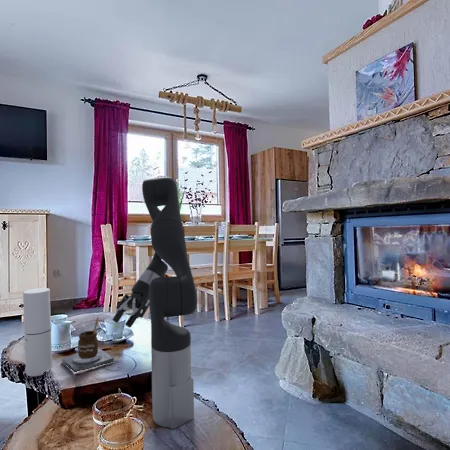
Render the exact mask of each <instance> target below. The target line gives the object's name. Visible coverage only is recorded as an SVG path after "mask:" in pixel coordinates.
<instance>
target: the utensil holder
mask: <svg viewBox="0 0 450 450" xmlns="http://www.w3.org/2000/svg"><path fill="white" fill-rule="evenodd" d="M98 321H99V317H97V318H96V320H95V324H94V329H93V330H86V329H85V327H87V326H86V324H84V325H85V326H82V327H83V331H82V327H81V325H80V326H78V327H77V328H78V329H79V327H80V333H79V335H78V339H79V340H78V343H77V353H78V355H79V357H80V358H91V357H94V356H95V355H97V353H98V347H99V343H98V342H99V341H98V337H97V332H96V328H97V326H98ZM81 323H83V320H82V321H78V324H81Z"/></svg>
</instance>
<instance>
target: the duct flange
mask: <svg viewBox="0 0 450 450" xmlns="http://www.w3.org/2000/svg"><path fill="white" fill-rule="evenodd" d="M61 359H62V360H61V363H62V362H63V363H64V364H65V365H67V366H68V367H69V368H70V369H72V370H73V371H74V372H77V371H80V370H85V369H89V368H92V367H96V366H99V365H103V364H107V363H111V362H114V360H115V359H114V357H112V355H110V354H109V353H107V352H106V351H104V350H103V349H102V348H101V347H99V346H98V353H97V355H95V356H94V357H91V358H80V357H79V355H78V352H77V353H74V354H70V355H67V356H64V357H62V358H61ZM63 363H62V364H63ZM64 364H63V365H64ZM65 365H64V366H65Z"/></svg>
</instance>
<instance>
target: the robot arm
mask: <svg viewBox="0 0 450 450" xmlns="http://www.w3.org/2000/svg"><path fill="white" fill-rule="evenodd" d="M141 188H142V189H141V192H142V196H143V200H144V204H145V206H146V210H147V211H148V214H149V216H150V218H151V220H152V224H151V226H150V240H151V241H150V242H151V246H152V249H153V250H154V251H153V252H154V254H153V255H152V259H151V261H150V263H149V264H148V266H147V267H146V269H145V270H144V271H143V272H142V274H141V275H140V277H138V279H137V280H136V282H135V284H134V285H133V287H132V288H131V294H130V295H129V294H125V295H124V296H122V298H121V300H120V301H119V303H117V305H116V306H115V308H116V309H117V312H115V315H114V316H113V318H112V321H113V322H114V323H116V324H117V323H119V321H120V320H121V319H122V317H123V315H124V314H125V313H126V312H130V311H131V310H132V312H131V315H130V316H129V318H128V319H127V320H126V322H125V323H124V324H125V327H128V328H131V327H132V326H133V325H134V323H135V322H136V320H137V319H139V318H141V319H142V318H143V317H144V316H145V314H146V312H147V311H148V308H149V313H150V314H149V315H150V328H151V329H150V330H151V331H150V338H151V340H150V344H151V346H150V347H151V351H150V352H151V395H152V396H151V397H152V398H151V401H152V404H151V405H152V420H153V422H154V423H155V424H156V425H158V426H160V427H163V428H169V429H171V430H175V429H177V428H178V427H180V426H182V425H184V424H185V423H188V422H190V421H191V420H193V419H194V418H195V399H194V398H195V395H194V391H195V390H194V386H195V385H194V379H193V377H192V347H191V346H192V344H191V343H192V341H191V340H192V339H191V337H192V336H191V332H190V331H189V330H188V329H187V328H185V327H183V326H180V325H176V324H173V323H171V322H168V321H167V320H166V319H165V318H171V317H172V318H174V317H180V316H188V315H193V314H194V313H195V311H196V309H197V305H198V298H197V290H196V289H197V288H196V285H195V280H194V277H193V273H192V270H191V265H190V261H189V258H188V257H189V256H188V251H187V244H186V237H185V232H184V227H183V222H182V217H181V213H180V203H179V193H178V187H177V183H176V181H175V179H174V178H173V177H171V176H162V177H155V178H149V179H147V178H146V179H144V180H143V181H142V185H141ZM159 207H163V208H161V209H160V208H159ZM169 267H170V269H172V271H173V272H174V274H175V275H174V276H165V275H166V273H167V272H168V269H169Z"/></svg>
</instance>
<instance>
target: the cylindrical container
mask: <svg viewBox="0 0 450 450" xmlns="http://www.w3.org/2000/svg"><path fill="white" fill-rule="evenodd" d="M50 290H51V289H50V288H47V287H40V288H39V287H38V288H37V287H36V288H31V289H30V288H29V289H26V290H24V291H22V294H23V295H22V297H23V298H22V299H23V301H22V302H23V324H24V325H23V327H24V330H23V331H24V357H25V358H24V359H25V360H24V362H25V375H26V376H29V377H39V376H42V375H44V374H43V373H44V372H45V371H47V370H50V369H51V368H52V369H53V351H52V349H53V347H52V322H51V320H52V318H51V292H50Z"/></svg>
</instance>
